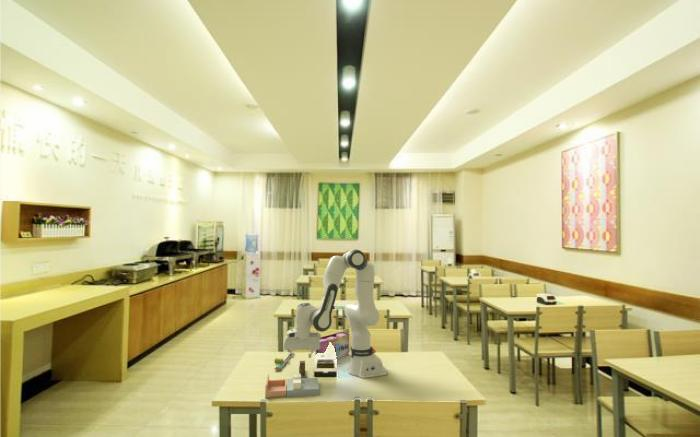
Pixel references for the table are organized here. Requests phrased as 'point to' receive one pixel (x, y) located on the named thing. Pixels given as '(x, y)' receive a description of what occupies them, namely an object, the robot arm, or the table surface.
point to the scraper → (302, 369)
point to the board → (303, 387)
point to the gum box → (335, 344)
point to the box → (275, 388)
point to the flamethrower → (281, 362)
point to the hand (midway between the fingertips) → (301, 357)
